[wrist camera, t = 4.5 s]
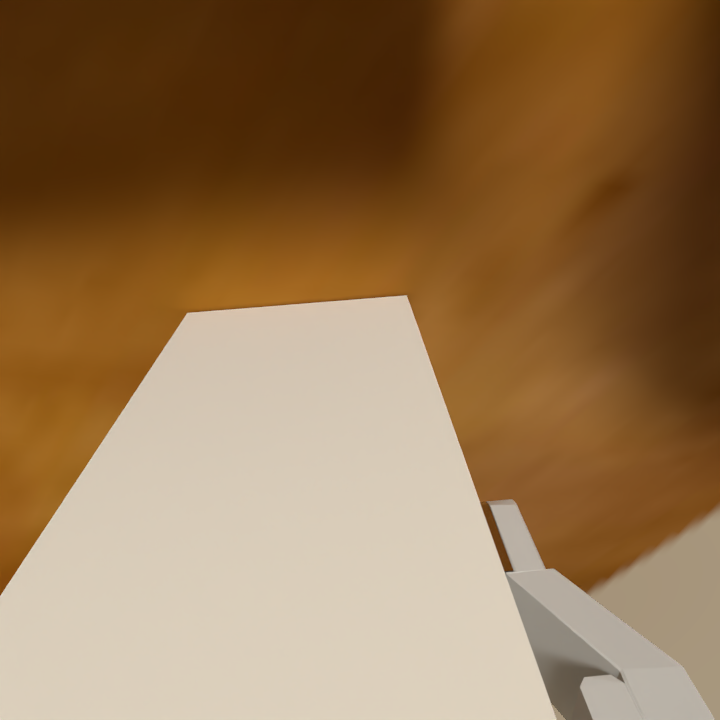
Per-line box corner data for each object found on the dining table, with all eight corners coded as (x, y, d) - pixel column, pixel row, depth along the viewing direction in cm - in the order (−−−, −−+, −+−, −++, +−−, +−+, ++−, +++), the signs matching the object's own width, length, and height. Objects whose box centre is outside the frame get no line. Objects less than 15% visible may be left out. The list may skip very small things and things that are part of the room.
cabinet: (406, 295, 11) (574, 766, 3) (412, 518, 15) (502, 1016, 7) (187, 312, 11) (-153, 827, 3) (242, 532, 15) (135, 1050, 7)
